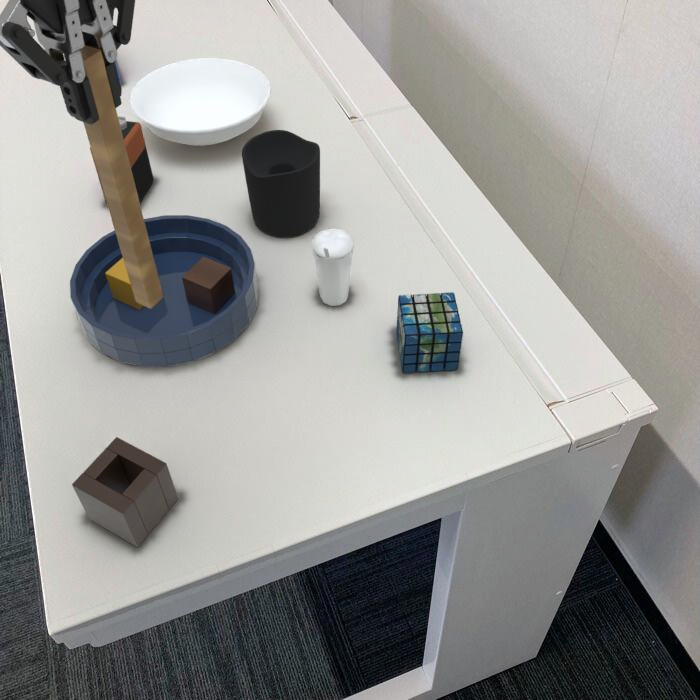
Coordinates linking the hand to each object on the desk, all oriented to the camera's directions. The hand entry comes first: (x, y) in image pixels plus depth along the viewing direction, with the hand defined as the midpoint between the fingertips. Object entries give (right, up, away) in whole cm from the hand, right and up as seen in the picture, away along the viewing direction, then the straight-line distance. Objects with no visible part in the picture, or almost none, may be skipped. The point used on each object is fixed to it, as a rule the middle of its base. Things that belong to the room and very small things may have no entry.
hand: (98, 111), depth 62 cm
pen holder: (+12, -2, +38) cm, 40 cm away
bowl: (-1, +13, +52) cm, 53 cm away
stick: (0, -14, +16) cm, 21 cm away
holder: (0, -34, +10) cm, 35 cm away
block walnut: (+4, -13, +28) cm, 31 cm away
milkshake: (+18, -13, +28) cm, 36 cm away
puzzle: (+29, -19, +23) cm, 41 cm away
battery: (-9, +2, +42) cm, 43 cm away
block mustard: (-5, -13, +28) cm, 31 cm away
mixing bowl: (-1, -14, +28) cm, 31 cm away
